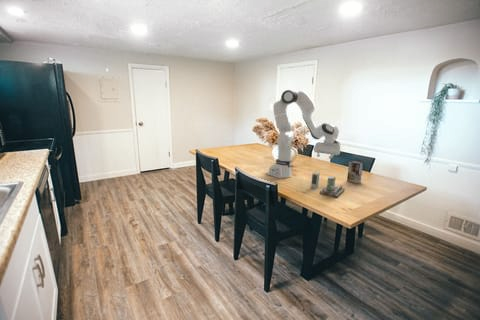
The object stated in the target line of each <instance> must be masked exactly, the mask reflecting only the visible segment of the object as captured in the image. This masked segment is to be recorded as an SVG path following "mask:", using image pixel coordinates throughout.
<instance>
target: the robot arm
mask: <svg viewBox="0 0 480 320" xmlns="http://www.w3.org/2000/svg"><path fill="white" fill-rule="evenodd" d="M293 103H295V104H296V105H297V106H298V107H299V108H300V109H299V110H300V112H301V115H302V119H303V121H304V122H305V125H306V126H307V128H308V130H309V132H310V135H311V137H312V139H314V140H320V139H321V138H323V137H324V140H323V142H316V143H315V144H314V147H313V151H314V153H317V154H316V157H317V158H320V154H325V155H329V156H328V159H330V160H331V159H332V158H334V156H339V155H340V153H341V143H340V141H338V140H337V139H338V136H339V134H340V130H339V127H338V126H336V125H333V124H332V125H330V124H329V123H327V122H323V123H321V124H320V125H318V126H316V123H314V121H313V118H312V115H313V113H314V111H315V108H316V106H315V103H314V100H313V99H312V98H311V97H310V95H308V93H307V92H306V91H304V90H298V91H297V92H296V91H293V90H291V89H286V90H285V91H283V92H282V93H281V97H280V100H277V101H276V102H274V104H273V114H274V115H273V116H274V120H275V125H276V127H277V129H278V131H279V134H277V138H276V141H277V147H278V148H277V150H278V154H277V159H275V163H273V164H272V165H270V167H269V168H268V170H267V171H266V174H265V175H269V176H271V177H275V178H277V179H281V178H282V179H283V178H284V179H285V178H291V177H293V174H292V141H293V140H294V138H295V134H294V132H293V128H292V125H291V122H290V118H289V113H288V106H289V105H291V104H293Z"/></svg>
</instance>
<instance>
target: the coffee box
mask: <svg viewBox="0 0 480 320" xmlns="http://www.w3.org/2000/svg"><path fill="white" fill-rule="evenodd" d="M363 167H364V162H360V161H355V160H351V161H348V169H347V176H346V177H347V178H346V181H347V182H352V183H355V184H359V183H361V181H362V175H363Z"/></svg>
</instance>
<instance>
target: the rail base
mask: <svg viewBox="0 0 480 320" xmlns="http://www.w3.org/2000/svg"><path fill="white" fill-rule="evenodd" d="M344 191H345V188H344V187H343V185H341V184H340V185H339V186H336V177H335V176H328V177H327V184H326V186H325V187H324V188H323V189H322V190H320V191H319V194H320V195H323V196H327V197H332V198H335V199H337V198H339V197H340V195H342V193H344Z"/></svg>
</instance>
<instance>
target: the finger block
mask: <svg viewBox="0 0 480 320" xmlns="http://www.w3.org/2000/svg"><path fill="white" fill-rule="evenodd" d="M319 182H320V172H315V171H314V172H313V173H312V175H311V185H310V186H311V188H314V189H317V188H318V187H319Z"/></svg>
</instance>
